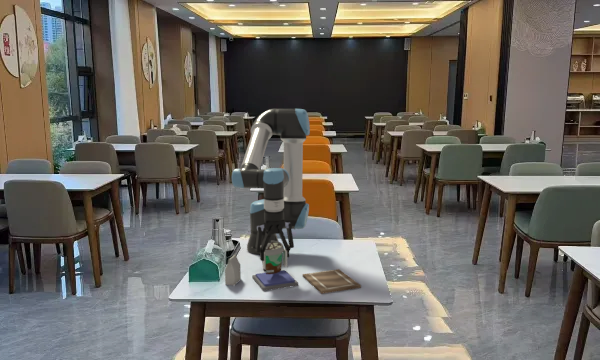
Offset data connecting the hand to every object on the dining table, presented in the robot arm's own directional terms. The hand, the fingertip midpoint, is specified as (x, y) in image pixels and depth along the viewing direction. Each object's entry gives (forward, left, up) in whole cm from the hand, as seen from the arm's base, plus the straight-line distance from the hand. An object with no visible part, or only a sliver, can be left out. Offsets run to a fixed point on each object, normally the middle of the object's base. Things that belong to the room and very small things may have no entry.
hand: (275, 267), depth 202 cm
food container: (0, 0, -1) cm, 2 cm away
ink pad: (0, 0, -6) cm, 6 cm away
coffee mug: (-15, +4, -6) cm, 16 cm away
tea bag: (-6, -15, -6) cm, 17 cm away
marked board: (+8, +20, -6) cm, 22 cm away
